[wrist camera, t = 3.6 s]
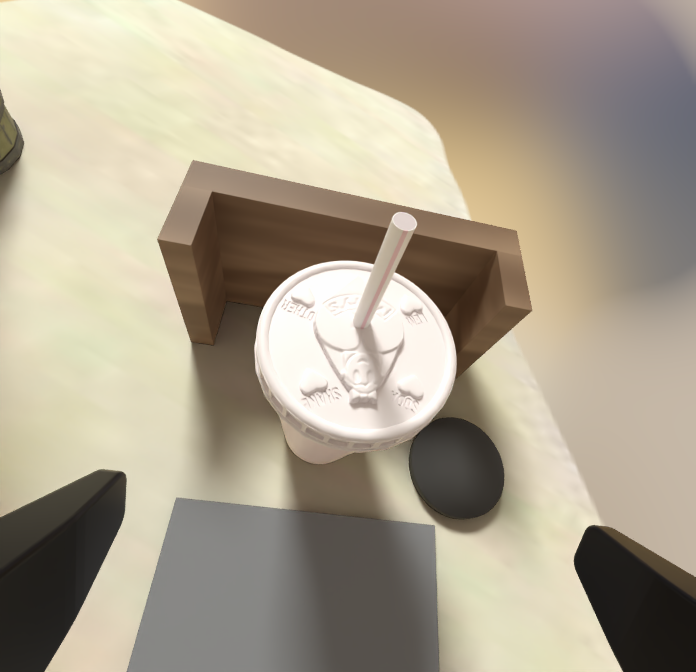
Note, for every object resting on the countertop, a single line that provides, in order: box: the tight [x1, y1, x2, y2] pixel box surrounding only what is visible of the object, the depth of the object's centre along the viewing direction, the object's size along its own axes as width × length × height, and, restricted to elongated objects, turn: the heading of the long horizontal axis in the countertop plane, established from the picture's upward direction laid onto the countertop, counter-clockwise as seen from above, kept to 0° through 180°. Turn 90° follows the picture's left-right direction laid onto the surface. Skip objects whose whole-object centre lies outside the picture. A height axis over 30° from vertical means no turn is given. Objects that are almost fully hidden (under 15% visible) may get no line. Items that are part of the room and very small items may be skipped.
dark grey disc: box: [409, 418, 504, 519], centre depth 20 cm, size 5×5×1 cm
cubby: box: [157, 160, 532, 379], centre depth 20 cm, size 5×15×8 cm, turn 86°
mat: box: [127, 498, 439, 672], centre depth 16 cm, size 9×12×1 cm
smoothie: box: [254, 212, 457, 464], centre depth 14 cm, size 6×6×14 cm
